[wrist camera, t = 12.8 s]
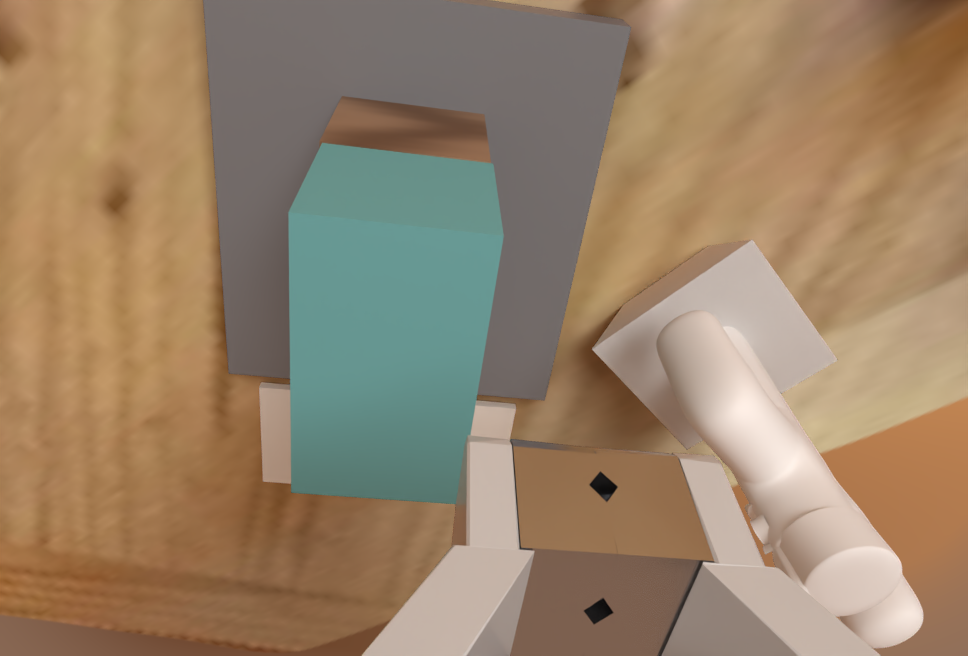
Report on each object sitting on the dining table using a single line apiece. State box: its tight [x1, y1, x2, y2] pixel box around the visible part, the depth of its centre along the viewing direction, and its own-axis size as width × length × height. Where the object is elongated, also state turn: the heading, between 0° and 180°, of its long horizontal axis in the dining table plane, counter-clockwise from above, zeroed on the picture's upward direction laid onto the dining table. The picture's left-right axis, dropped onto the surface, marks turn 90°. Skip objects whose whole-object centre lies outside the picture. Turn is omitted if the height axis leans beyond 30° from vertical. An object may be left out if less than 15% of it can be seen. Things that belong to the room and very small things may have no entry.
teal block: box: [288, 143, 504, 504], centre depth 21 cm, size 5×9×5 cm, turn 172°
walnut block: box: [319, 96, 491, 163], centre depth 25 cm, size 5×9×5 cm, turn 172°
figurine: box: [592, 240, 923, 648], centre depth 25 cm, size 7×9×15 cm
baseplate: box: [203, 0, 631, 400], centre depth 28 cm, size 14×16×2 cm
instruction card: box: [259, 382, 516, 484], centre depth 35 cm, size 12×6×1 cm, turn 82°
